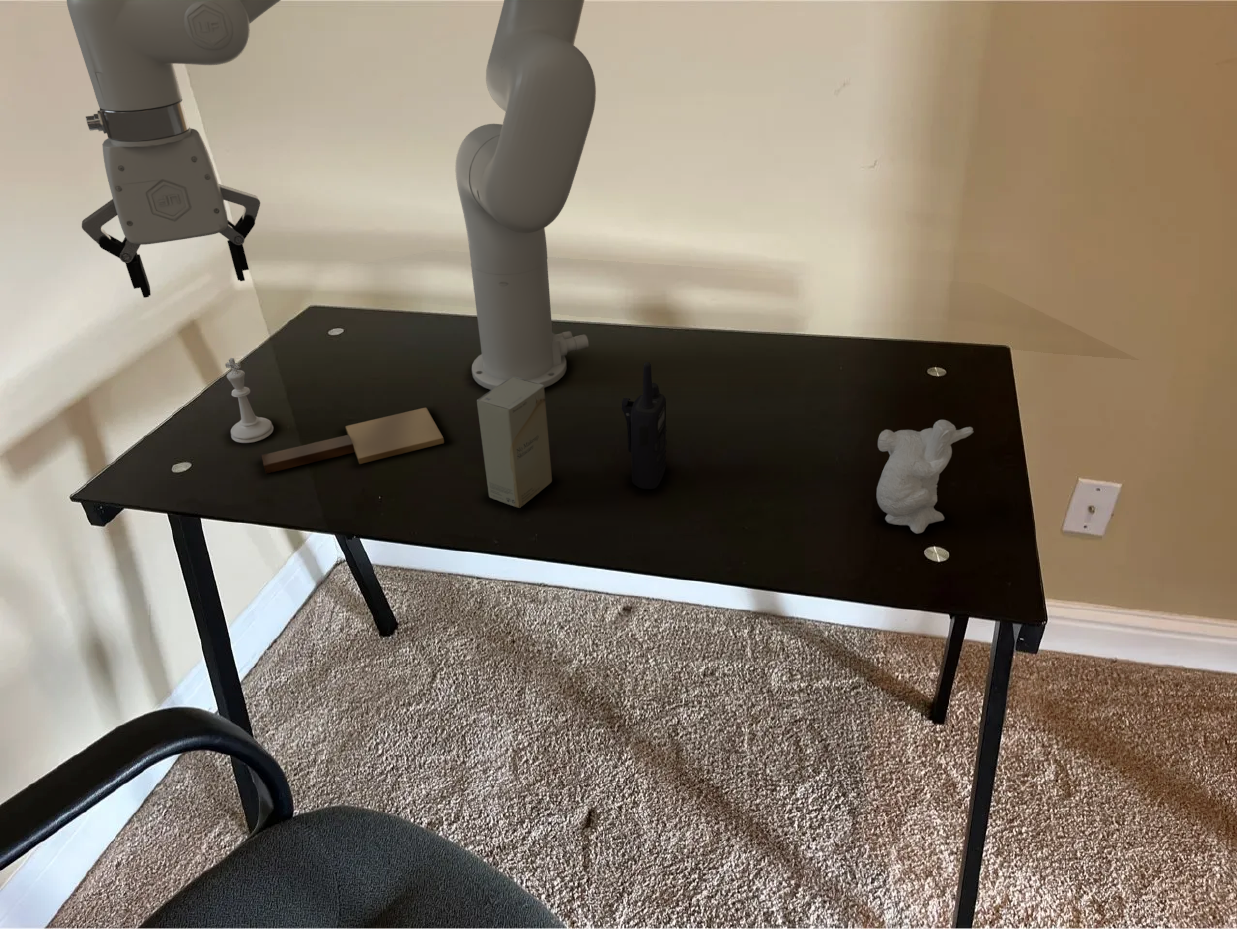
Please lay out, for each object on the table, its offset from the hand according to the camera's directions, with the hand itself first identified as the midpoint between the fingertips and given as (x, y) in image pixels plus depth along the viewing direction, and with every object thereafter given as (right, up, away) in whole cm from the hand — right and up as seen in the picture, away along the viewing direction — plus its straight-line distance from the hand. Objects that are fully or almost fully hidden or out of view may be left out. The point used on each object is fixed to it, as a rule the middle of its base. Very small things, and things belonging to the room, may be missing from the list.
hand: (194, 284), depth 101 cm
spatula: (+15, -18, +8) cm, 25 cm away
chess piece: (+2, -16, +11) cm, 20 cm away
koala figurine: (+76, -26, -6) cm, 81 cm away
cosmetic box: (+36, -23, 0) cm, 42 cm away
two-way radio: (+49, -21, +1) cm, 54 cm away
